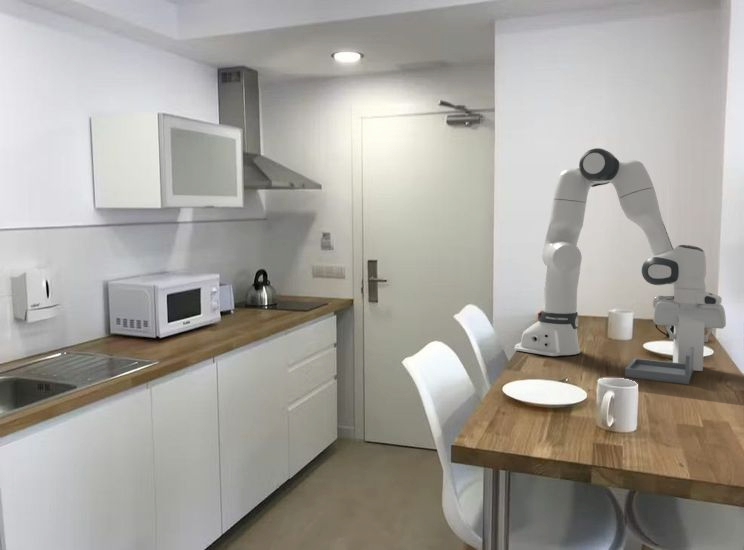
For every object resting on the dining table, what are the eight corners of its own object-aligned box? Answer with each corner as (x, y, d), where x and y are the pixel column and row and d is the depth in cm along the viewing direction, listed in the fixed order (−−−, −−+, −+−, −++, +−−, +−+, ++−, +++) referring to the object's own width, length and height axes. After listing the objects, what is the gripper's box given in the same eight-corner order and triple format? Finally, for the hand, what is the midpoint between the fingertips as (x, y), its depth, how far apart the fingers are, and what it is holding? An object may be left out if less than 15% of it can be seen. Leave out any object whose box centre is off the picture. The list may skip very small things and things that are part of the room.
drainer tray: (624, 376, 182) (625, 350, 182) (633, 365, 196) (634, 341, 195) (688, 384, 173) (689, 356, 173) (693, 372, 187) (694, 346, 186)
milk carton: (702, 371, 188) (705, 310, 186) (677, 370, 190) (680, 310, 188) (696, 366, 195) (699, 307, 193) (672, 365, 197) (674, 306, 195)
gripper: (651, 296, 193) (651, 339, 194) (726, 299, 182) (724, 345, 183) (654, 294, 198) (653, 336, 200) (726, 297, 188) (725, 341, 189)
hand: (688, 340), depth 191 cm, fingers closed on milk carton, 8 cm apart
